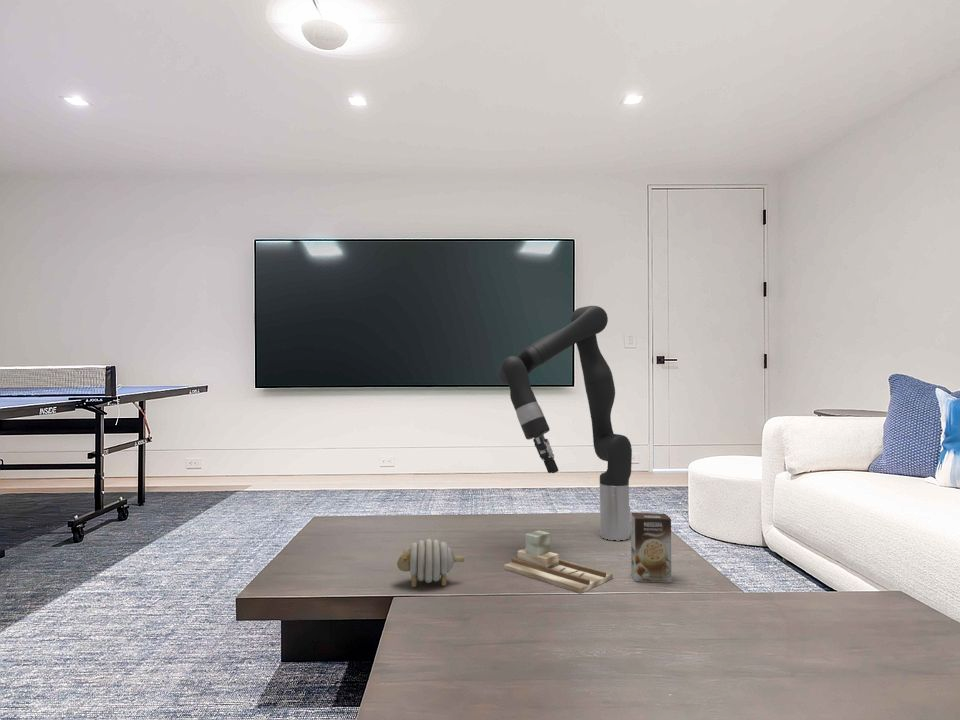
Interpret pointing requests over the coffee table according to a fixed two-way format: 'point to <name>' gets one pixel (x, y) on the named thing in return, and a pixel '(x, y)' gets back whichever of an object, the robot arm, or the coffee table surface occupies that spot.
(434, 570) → the toy sheep
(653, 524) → the coffee box
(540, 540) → the block
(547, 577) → the birch plank
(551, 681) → the coffee table surface
